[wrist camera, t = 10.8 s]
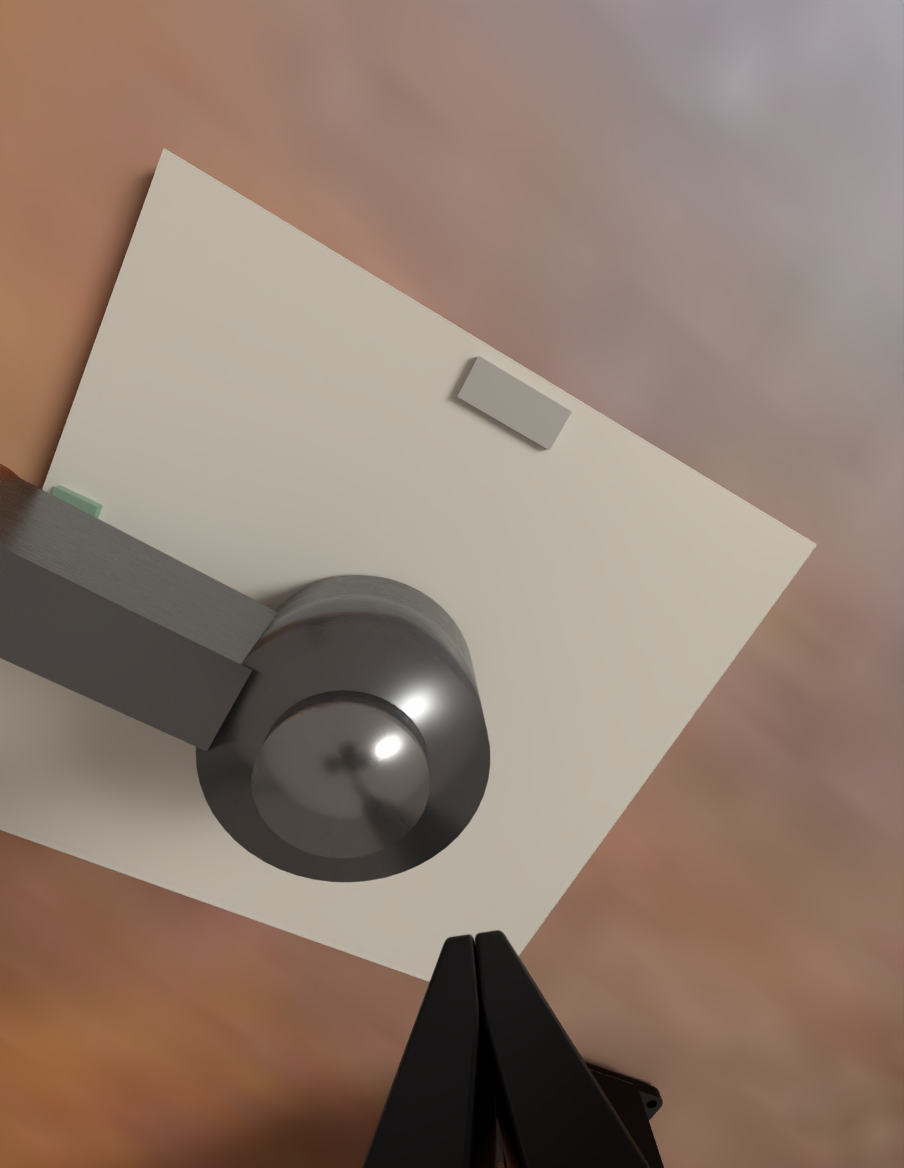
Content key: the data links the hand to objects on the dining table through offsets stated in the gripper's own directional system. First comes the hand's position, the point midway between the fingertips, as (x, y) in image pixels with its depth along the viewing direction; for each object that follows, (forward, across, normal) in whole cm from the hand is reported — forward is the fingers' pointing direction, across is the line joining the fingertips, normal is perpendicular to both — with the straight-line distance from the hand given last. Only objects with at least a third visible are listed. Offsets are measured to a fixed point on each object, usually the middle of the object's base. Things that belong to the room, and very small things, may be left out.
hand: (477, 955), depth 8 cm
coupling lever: (+10, +6, -3) cm, 12 cm away
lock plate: (+11, +3, 0) cm, 12 cm away
